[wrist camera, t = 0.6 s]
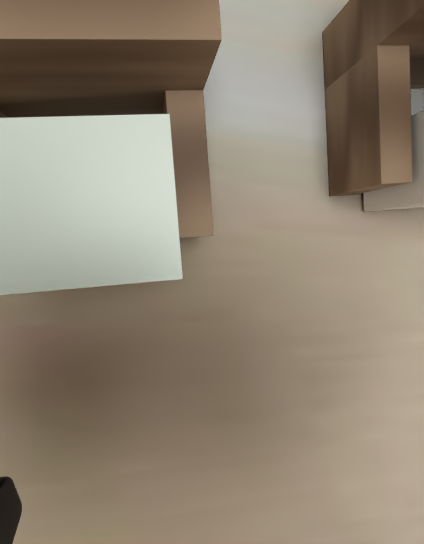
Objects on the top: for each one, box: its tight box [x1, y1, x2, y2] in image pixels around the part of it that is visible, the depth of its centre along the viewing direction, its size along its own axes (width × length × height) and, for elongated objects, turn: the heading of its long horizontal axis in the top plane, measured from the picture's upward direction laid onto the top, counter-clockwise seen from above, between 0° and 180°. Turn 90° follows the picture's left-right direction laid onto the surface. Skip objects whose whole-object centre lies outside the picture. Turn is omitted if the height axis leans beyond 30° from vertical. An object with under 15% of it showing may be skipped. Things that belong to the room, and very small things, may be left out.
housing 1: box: [0, 0, 221, 238], centre depth 15 cm, size 9×10×9 cm
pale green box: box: [0, 114, 183, 295], centre depth 15 cm, size 4×6×11 cm
